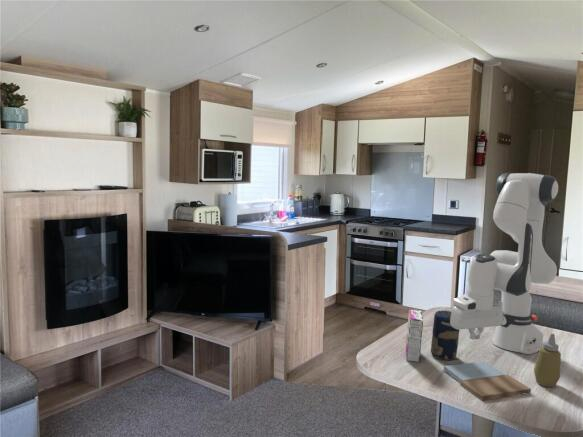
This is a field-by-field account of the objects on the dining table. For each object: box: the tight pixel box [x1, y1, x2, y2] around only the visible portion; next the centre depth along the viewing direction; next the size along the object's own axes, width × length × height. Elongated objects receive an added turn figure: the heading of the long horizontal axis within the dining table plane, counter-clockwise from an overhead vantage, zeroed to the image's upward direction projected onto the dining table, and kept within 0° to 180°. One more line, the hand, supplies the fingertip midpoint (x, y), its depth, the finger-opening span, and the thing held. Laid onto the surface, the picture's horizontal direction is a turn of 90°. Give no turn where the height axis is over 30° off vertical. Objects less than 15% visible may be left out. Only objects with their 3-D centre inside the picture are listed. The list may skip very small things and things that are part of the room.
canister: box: [430, 310, 460, 361], centre depth 180 cm, size 10×10×18 cm
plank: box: [443, 360, 506, 384], centre depth 167 cm, size 18×10×2 cm, turn 110°
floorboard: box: [460, 374, 532, 401], centre depth 157 cm, size 20×10×2 cm, turn 110°
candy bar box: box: [405, 309, 424, 363], centre depth 179 cm, size 11×5×16 cm, turn 168°
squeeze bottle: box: [533, 333, 562, 388], centre depth 162 cm, size 8×8×18 cm
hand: (474, 338), depth 167 cm, fingers closed
